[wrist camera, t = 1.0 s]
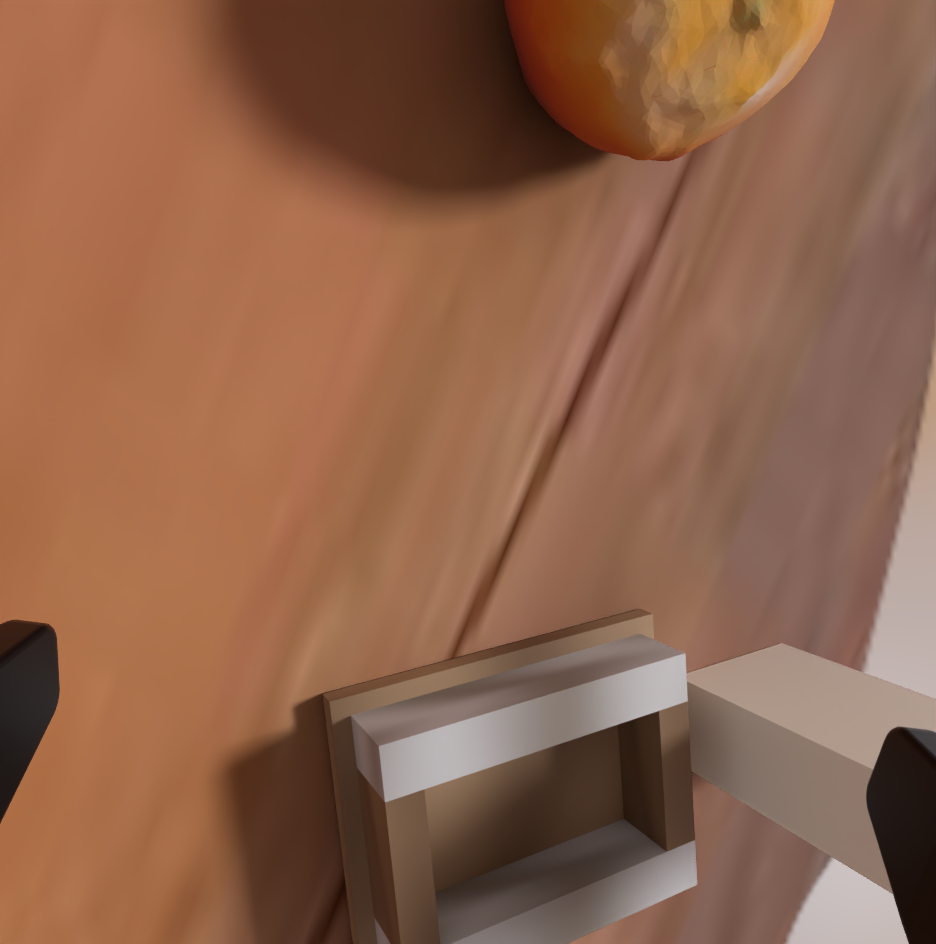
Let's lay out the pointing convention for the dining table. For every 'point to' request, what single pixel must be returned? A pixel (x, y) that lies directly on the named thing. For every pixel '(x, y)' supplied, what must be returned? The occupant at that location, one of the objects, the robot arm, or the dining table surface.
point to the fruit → (660, 65)
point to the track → (516, 789)
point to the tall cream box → (801, 743)
